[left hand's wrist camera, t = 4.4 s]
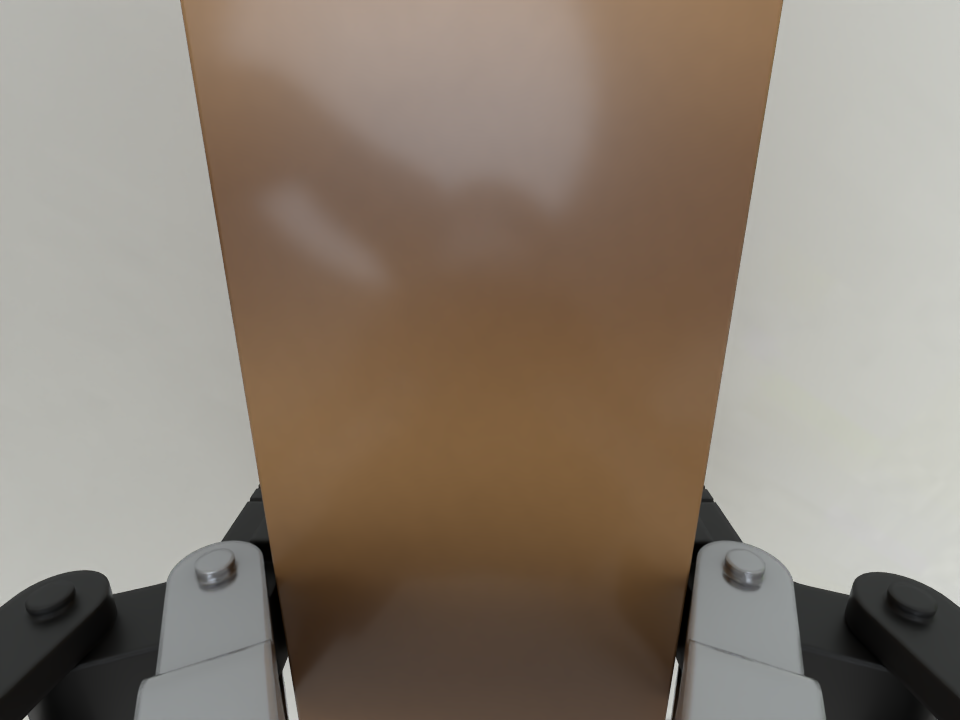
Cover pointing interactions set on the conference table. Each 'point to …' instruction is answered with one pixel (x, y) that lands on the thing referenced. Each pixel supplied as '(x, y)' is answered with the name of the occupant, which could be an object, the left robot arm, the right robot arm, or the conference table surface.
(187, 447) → the conference table surface
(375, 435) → the bar
